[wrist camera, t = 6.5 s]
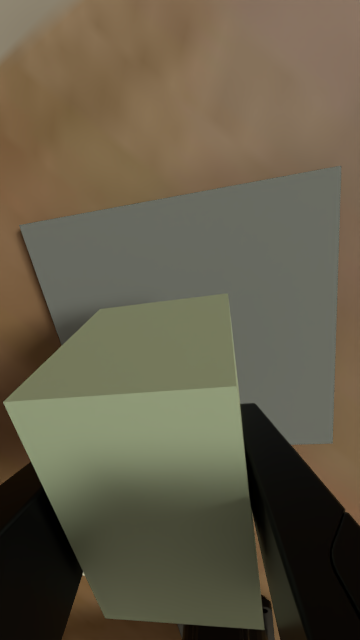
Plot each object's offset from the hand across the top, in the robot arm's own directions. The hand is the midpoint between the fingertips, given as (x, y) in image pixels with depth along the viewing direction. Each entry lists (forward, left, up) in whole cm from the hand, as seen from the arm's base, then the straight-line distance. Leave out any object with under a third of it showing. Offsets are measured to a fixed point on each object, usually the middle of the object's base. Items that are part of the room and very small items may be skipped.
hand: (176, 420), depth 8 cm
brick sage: (0, 0, -1) cm, 1 cm away
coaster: (0, 0, -5) cm, 5 cm away
